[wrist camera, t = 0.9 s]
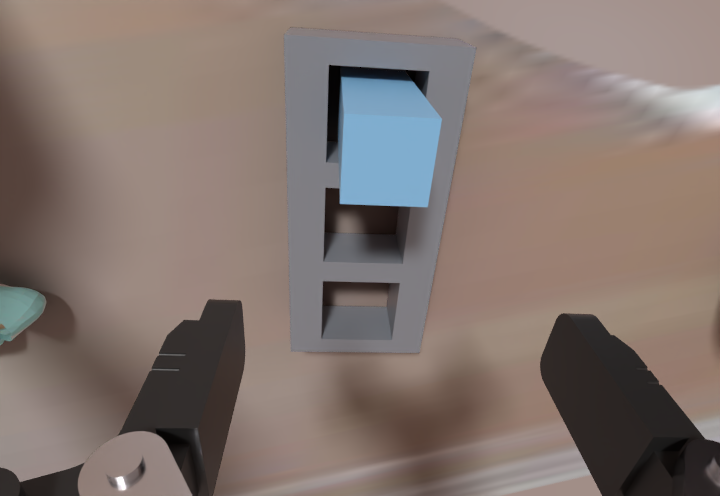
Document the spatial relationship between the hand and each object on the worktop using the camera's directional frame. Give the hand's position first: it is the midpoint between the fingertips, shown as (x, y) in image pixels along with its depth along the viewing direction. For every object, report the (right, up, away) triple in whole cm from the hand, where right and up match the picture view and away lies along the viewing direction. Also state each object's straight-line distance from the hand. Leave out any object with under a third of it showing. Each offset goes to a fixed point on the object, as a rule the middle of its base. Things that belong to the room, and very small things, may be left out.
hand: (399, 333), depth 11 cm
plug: (0, +12, +17) cm, 21 cm away
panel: (-1, +6, +21) cm, 21 cm away
